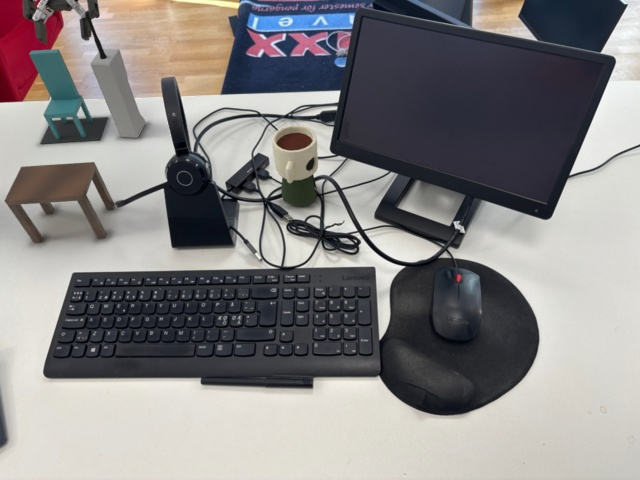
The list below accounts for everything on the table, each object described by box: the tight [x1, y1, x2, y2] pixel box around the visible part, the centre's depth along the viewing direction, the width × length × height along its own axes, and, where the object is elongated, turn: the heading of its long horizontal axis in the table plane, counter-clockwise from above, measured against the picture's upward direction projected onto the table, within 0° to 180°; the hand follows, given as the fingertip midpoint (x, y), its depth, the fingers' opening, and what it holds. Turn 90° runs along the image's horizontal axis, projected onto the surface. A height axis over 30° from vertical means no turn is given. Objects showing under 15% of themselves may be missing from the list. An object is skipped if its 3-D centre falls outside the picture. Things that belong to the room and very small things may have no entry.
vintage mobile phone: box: [85, 12, 146, 139], centre depth 97 cm, size 4×5×25 cm
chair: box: [28, 48, 93, 139], centre depth 101 cm, size 6×6×16 cm
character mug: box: [271, 124, 319, 207], centre depth 87 cm, size 11×7×13 cm, turn 170°
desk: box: [4, 161, 116, 244], centre depth 86 cm, size 12×8×10 cm, turn 93°
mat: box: [40, 116, 109, 145], centre depth 107 cm, size 12×8×1 cm, turn 93°
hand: (64, 40), depth 105 cm, fingers open, 8 cm apart
